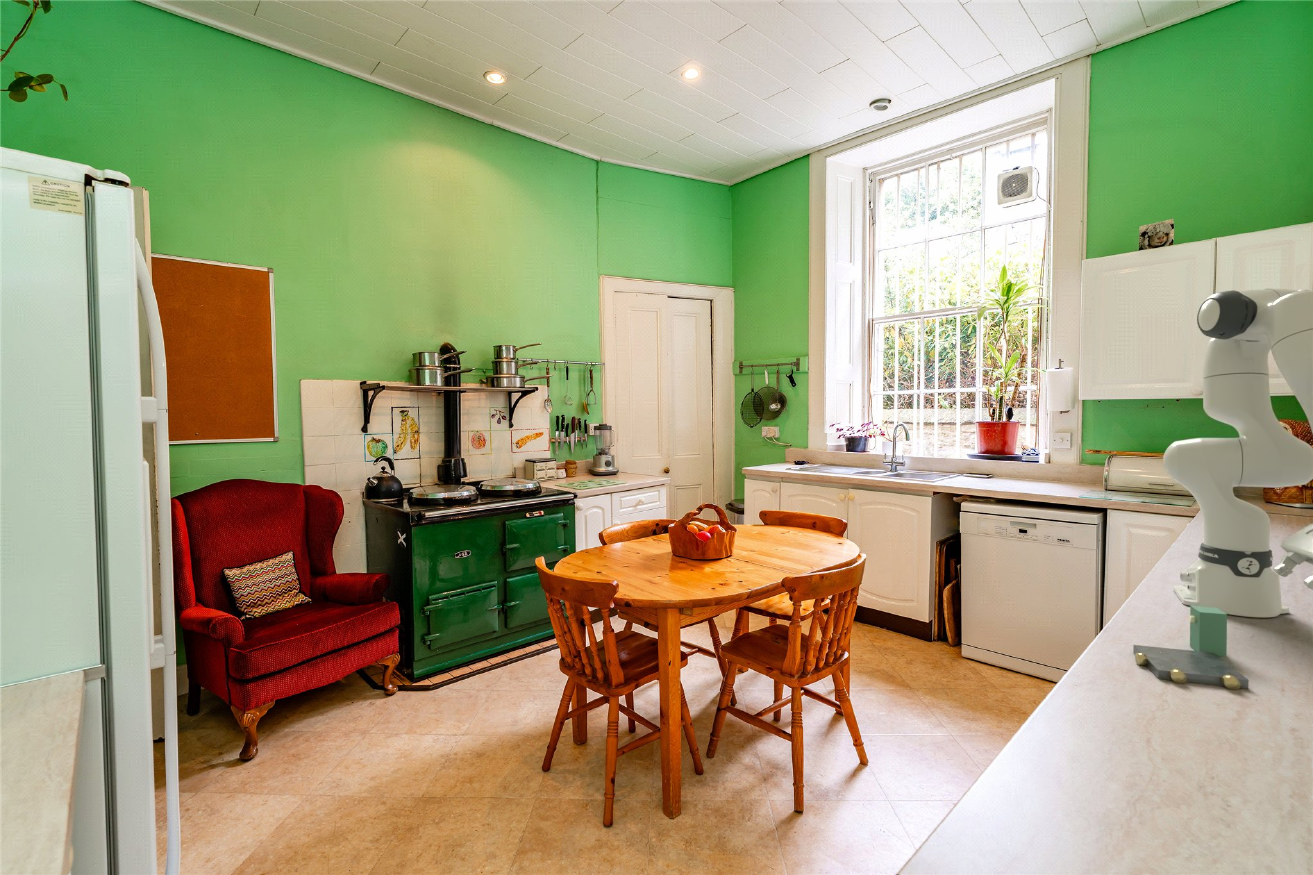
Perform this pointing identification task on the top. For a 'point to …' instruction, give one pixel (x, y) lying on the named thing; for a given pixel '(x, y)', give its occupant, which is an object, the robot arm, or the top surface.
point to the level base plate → (1189, 666)
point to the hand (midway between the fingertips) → (1292, 579)
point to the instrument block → (1208, 630)
